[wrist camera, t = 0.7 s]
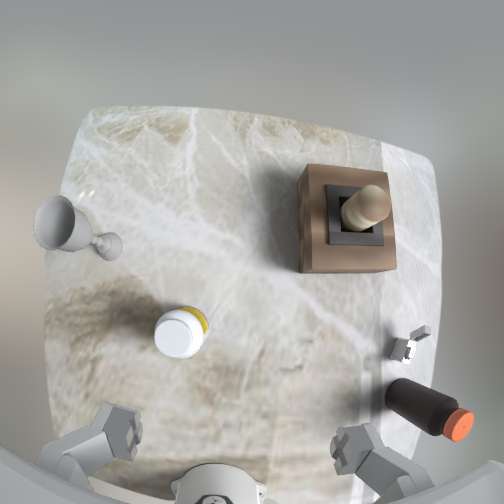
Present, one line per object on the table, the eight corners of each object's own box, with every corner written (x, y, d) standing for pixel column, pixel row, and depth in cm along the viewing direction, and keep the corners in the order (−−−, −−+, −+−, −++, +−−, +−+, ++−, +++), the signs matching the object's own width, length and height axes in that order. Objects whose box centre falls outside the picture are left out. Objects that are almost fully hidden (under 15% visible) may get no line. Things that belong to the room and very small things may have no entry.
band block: (373, 273, 47) (398, 268, 39) (299, 273, 47) (313, 268, 38) (367, 188, 50) (388, 171, 41) (297, 182, 49) (308, 161, 40)
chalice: (134, 238, 46) (85, 209, 28) (116, 273, 45) (59, 261, 27) (104, 220, 46) (50, 186, 28) (87, 253, 45) (26, 233, 27)
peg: (366, 234, 41) (392, 222, 33) (337, 233, 41) (359, 220, 33) (364, 204, 42) (387, 186, 34) (335, 201, 42) (355, 182, 34)
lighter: (396, 359, 45) (420, 368, 37) (390, 358, 45) (413, 366, 37) (408, 324, 46) (433, 327, 38) (401, 322, 46) (426, 325, 38)
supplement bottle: (177, 300, 45) (156, 302, 32) (215, 314, 45) (207, 322, 32) (165, 337, 44) (140, 352, 31) (202, 352, 44) (190, 373, 31)
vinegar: (385, 413, 44) (444, 455, 24) (383, 384, 44) (448, 419, 25) (412, 401, 44) (475, 433, 24) (411, 372, 45) (480, 398, 25)
